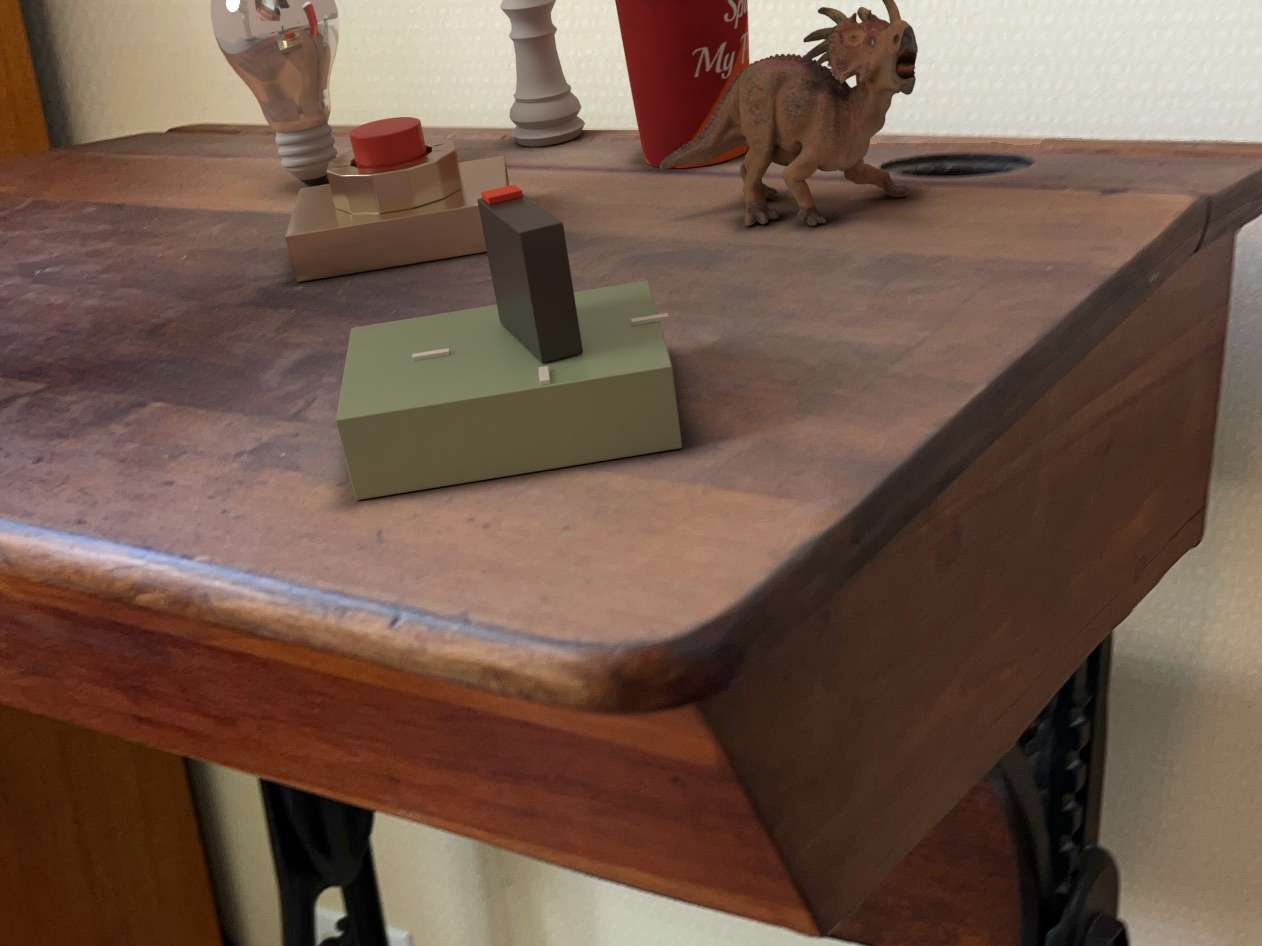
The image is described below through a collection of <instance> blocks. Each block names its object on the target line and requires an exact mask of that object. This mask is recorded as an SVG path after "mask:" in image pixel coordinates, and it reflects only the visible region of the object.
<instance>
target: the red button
mask: <svg viewBox="0 0 1262 946" xmlns="http://www.w3.org/2000/svg"><path fill="white" fill-rule="evenodd" d="M348 136H349V140H350V144H351V148H352V150H353V153H354V157H355V162H356V166H357V168H381V167H387V166H393V165H400V164H404V163H407V162H411V161H414V160H417V159H420V158H422V157H424V156H426V155H427V151H426V146H425V141H424V138H425V136H424V131H423V126H422V122H421V119H419V118H417V117H412V116H397V117H389V118H383V119H377V120H373V121H370V122H366V123H363V124H360V125H357V126H356V127H354V128H353V129H351V130H350V131H349V135H348Z"/></svg>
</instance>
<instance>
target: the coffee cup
mask: <svg viewBox="0 0 1262 946" xmlns="http://www.w3.org/2000/svg"><path fill="white" fill-rule="evenodd" d="M748 1H749V0H614V3H615V7H616V14H617V20H618V24H619V31H620V36H621V41H622V42H621V43H622V47H623V53H624V59H625V63H626V64H625V65H626V70H627V75H628V76H627V77H628V81H629V86H630V93H631V98H632V103H633V109H634V112H635V118H636V124H637V129H638V134H639V139H640V146H641V148H642V153H643V158H644V160H645V163H646V164H648V165H649V166H652V167H656V168H660V165H661V162H662V161H663V160H664V159H665V157H668V156H669V155H670V154H672V153H673V152H675V151H677V150H678V149H679V148H682V146H683V145H684V144H688V142H690V141H694V139H695V138H697V137H698V134H700V133H701V132H702V131H703V130H704V127H705V126H706V125H707V123H708V121H709V120H711V119H710V118H711V116H712V115H714V110H716V109H717V108H716V106H717V105H718V104H720V100H721V99H722V98H723V94H724V93H726V92H727V89H729V88H730V86H729V84H730V83H734V81H733V79H734V78H737V74H738V73H739V74H741V70H742V69H744V70H745V69H746V66H749V65H750V64H751V63H750V40H749V39H750V38H749V36H750V35H749V5H748ZM749 149H750V147H748V146H739V147H735V148H733V149H731V150H729V151H727V152H726V153H724V154H722V155H720V156H718V157H716V158H714V159H712V160H711V161H708V162H706V163H702V164H696V165H679V166H673V167H670V168H669V169H689V168H697V167H703V166H710V165H714V164H718V163H722V162H726V161H730V160H732V159H735V158H738V157H740V156H743V155H744V154H745V153H747V152H748V151H749Z"/></svg>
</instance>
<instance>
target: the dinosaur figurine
mask: <svg viewBox="0 0 1262 946" xmlns="http://www.w3.org/2000/svg"><path fill="white" fill-rule="evenodd" d="M881 1H882V3H883V5H884V6H885V9H886V11H887V15H888V19H889V21H887V20H885V19H881V18H879V17H878V16H877V15H876V14H873V12H872V10H871V9H868V8H866V7H864V6H860V7H859V8H858V9H857V11H856V12H853V14H851V16H849V17H848V16H847V15H846V14H845V13H843V11H841V10H838V9H836V8H833V7H826V6H822V7H820V8H818V9H817V13H818V14H819V15H823V16H826V17H827V18H829V19H830V20H831V21H833V22H834V23H835V24H836V25H834V26H833V27H824V28H823V27H822V28H818V29H816V30H813V31H812V32H810V33H809V34H808V35H806V36H805V37H804V38H803V40H802V41H803V43H810V42H817V41H819V42H820V41H822V42H820V43H818V44H817V45H815V46H814V47H813V48H811V49H810V50H809V51H807V52H806V54H804V55H802V56H801V54H797V55H796V53H792V54H791V53H786V54H784V53H781V54H779V53H775V55H769V56H768V57H765V58H760V59H759V60H755V61H754V62H752V63H749V64H750V65H749V66H746V69H745V70H744V69H742V70H741V74H739V73H738V74H737V78H734V79H733V81H734V83H730V84H729V86H730V88H729V89H727V92H726V93H724V94H723V98H722V99H721V100H720V104H718V105H717V106H716V108H717V109H716V110H714V115H712V116H711V118H710V119H711V120H709V121H708V123H707V125H706V126H705V127H704V130H703V131H702V132H701V133H700V134H698V137H697V138H695V139H694V141H690V142H688V144H684V145H683V146H682V148H679V149H678V150H677V151H675V152H673V153H672V154H670V155H669V156H668V157H665V159H664V160H663V161H662V162H661V165H660V167H659V169H660V170H661V171H665V170H667V169H671V168H670V167H673V166H679V165H696V164H702V163H706V162H708V161H711V160H712V159H714V158H716V157H718V156H720V155H722V154H724V153H726V152H727V151H729V150H731V149H733V148H735V147H739V146H748V147H750V148H749V150H748V151H747V152H746V154H745V156H744V162H743V163H742V164H741V165H740V167H739V168H740V169H739V176H740V178H741V180H742V182H743V188H742V191H743V195H744V200H745V212H746V213H745V214H746V215H745V217H744V225H745V226H747V227H749V226H752V225H754V224H755V223H758V224H761V225H766V224H768V222H769V220H776V219H778V218H779V216H780V214H779V212H778V211H776V210H775V209H773V208H769V202H768V201H767V199H774V198H776V195H778V193H779V192H778V190H777V189H776V188H774V187H770V186H768V185H767V184H766V183H764V182H763V179H762V178H763V177H764V176H765V174H766V173H767V171H768V169H769V167H770V166H771V163H774V164H775V165H779V166H783V167H785V168H784V170H783V171H782V179H783V182H784V184H785V186H786V188H787V189H788V191H789V193H791V194H792V196H793V197H794V199H795V200H796V202H797V205H798V209H799V210H798V212H797V218H800V220H801V223H805V222H806V223H807V224H808V226H812V227H816V226H817V225H818V224H826V223H827V220H828V219H829V218H830V215H829V214H827V213H825V212H820V211H819V210H818V209H817V207H816V204H815V200H814V198H813V195H812V193H811V189H810V187H809V184H808V182H807V181H806V180H807V179H809V178H811V177H812V176H813V175H814V174H815V173H816V171H817V170H819V171H821V172H825V173H826V172H827V173H830V172H837V171H840V172H843V176H844V178H845V179H846V180H848V181H850V182H852V183H854V184H855V185H861V186H862V185H872V186H873V185H874V186H876V187H877V188H878V189H879V188H880V189H883V191H884V193H886V194H887V195H888V196H889V197H891V198H902V197H907V196H909V193H910V192H912V189H911V188H910V187H909V186H907V187H906V185H902V184H898V185H897V184H895V183H894V181H893V179H892V178H891V174H890V172H889V171H888V170H885V169H880V168H877V167H875V166H873V165H871V164H869V163H865V160H864V158H865V157H866V156H867V154H868V152H869V148H870V145H871V144H870V143H871V139H872V138H873V137H874V136H875V135H876V134H877V133H879V132H880V131H881V130H882V129H883V128H884V126H885V123H886V115H887V113H888V111H889V109H890V108H891V106H892V102H893V101H892V100H893V96H894V95H896V94H900V93H902V94H904V95H906V96H909V95H911V94H912V93H913V92H914V88H915V84H916V79H917V78H916V72H915V69H916V61H917V58H918V53H919V46H918V43H917V40H916V34H915V31H914V28H913V26H912V25H910V24H909V23H908V22H907V21H906V20H903V19H902V17H901V14H900V10H899V8H898V5H897V3H896V1H895V0H881ZM857 17H858V18H859V20H860V21H861V22H858V20H857ZM819 56H820V57H819ZM817 57H819V58H817ZM815 58H817V59H815ZM826 62H827V65H822V64H824V63H826ZM854 76H855V82H856V85H853V86H850V85H849V83H848V82H847V80H848V79H850V78H852V77H854Z"/></svg>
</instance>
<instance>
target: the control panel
mask: <svg viewBox="0 0 1262 946" xmlns="http://www.w3.org/2000/svg"><path fill="white" fill-rule="evenodd" d="M574 297H575V303H576V310H577V316H578V322H579V329H580V335H581V341H582V348H583V353H581V354H577V355H573V356H569V357H566V358H562V359H558V360H554V361H550V362H546V363H541V362H540V361H539V360H538V359H537V358H536V357H535V356H534V355H533V354H532V353H531V352H530V351H529V350H528V349H527V348H526V347H525V346H524V345H523V344H522V343H521V342H520V341H519V340H518V339H517V338H516V337H515V336H514V335H513V334H511V333H510V332H509V331H508V330H507V329H506V328H505V327H504V326H503V325H502V324H501V323H500V319H499V313H498V308H497V304H491V305H486V306H479V307H474V308H467V309H461V310H455V311H448V312H441V313H435V314H430V315H424V316H418V317H412V318H404V319H399V320H393V321H386V322H380V323H374V324H367V325H362V326H356V327H351V329H350V333H349V340H348V344H347V350H346V357H345V362H344V363H345V364H344V368H343V372H342V373H343V375H342V380H341V384H340V385H341V387H340V390H339V391H340V392H339V398H338V404H337V410H336V414H335V426H336V428H337V432H338V436H339V440H340V444H341V448H342V451H343V456H344V458H345V459H344V460H345V463H346V467H347V471H348V475H349V479H350V483H351V487H352V490H353V494H354V498H355V500H356V501H359V500H366V499H372V498H379V497H384V496H385V497H386V496H391V495H398V494H403V493H404V494H405V493H409V492H416V491H422V490H429V489H434V488H441V487H448V486H454V485H460V484H466V483H473V482H478V481H479V482H480V481H484V480H485V481H486V480H490V479H498V478H503V477H509V476H516V475H523V474H528V473H535V472H540V471H546V470H547V471H548V470H553V469H559V468H566V467H572V466H579V465H585V464H591V463H598V462H604V461H609V460H617V459H623V458H628V457H635V456H642V455H648V454H654V453H661V452H667V451H671V450H678V449H682V448H683V442H682V436H681V435H682V434H681V426H680V418H679V411H678V410H679V409H678V401H677V395H676V385H675V378H674V377H675V376H674V369H673V363H672V360H671V357H670V353H669V350H668V345H667V343H666V339H665V336H664V332H663V328H662V325H661V322H665V321H669V320H670V316H669V312H664V313H658V310H657V306H656V303H655V299H654V296H653V292H652V289H651V285H650V281H649V280H641V281H640V280H639V281H635V282H628V283H622V284H615V285H609V286H604V287H597V288H591V289H585V290H578V291H574Z"/></svg>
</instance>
